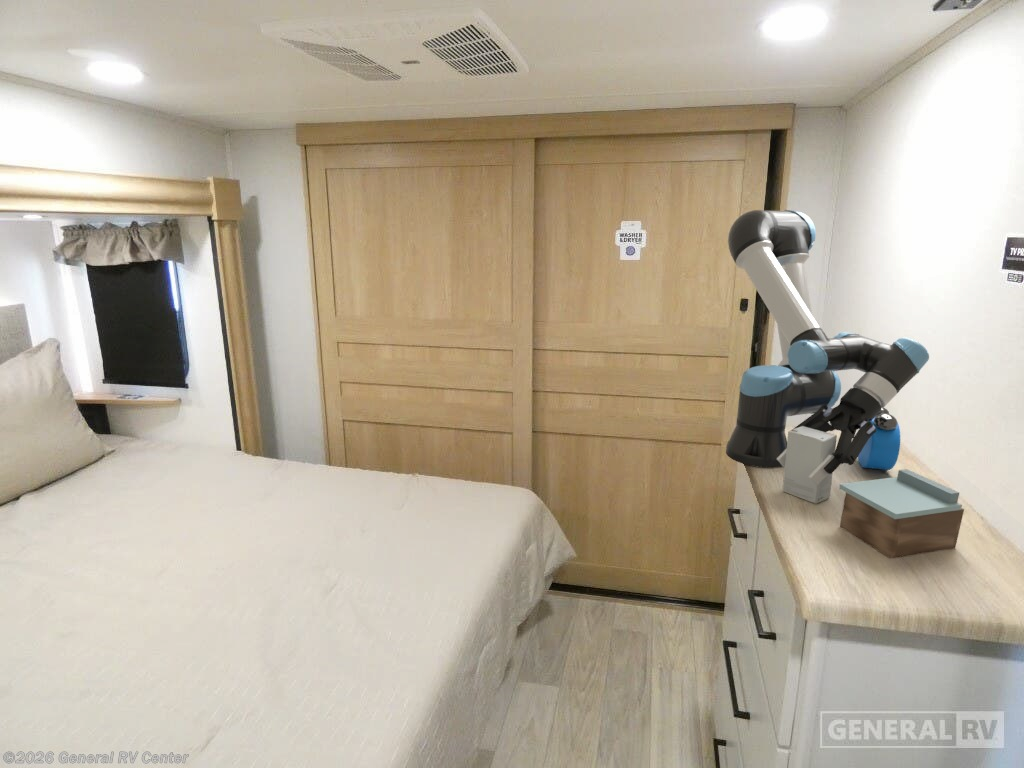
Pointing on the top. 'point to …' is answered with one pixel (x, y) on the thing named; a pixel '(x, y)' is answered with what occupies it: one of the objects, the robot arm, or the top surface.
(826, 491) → the skincare box
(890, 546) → the box
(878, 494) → the lid
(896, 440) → the alarm clock
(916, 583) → the top surface
